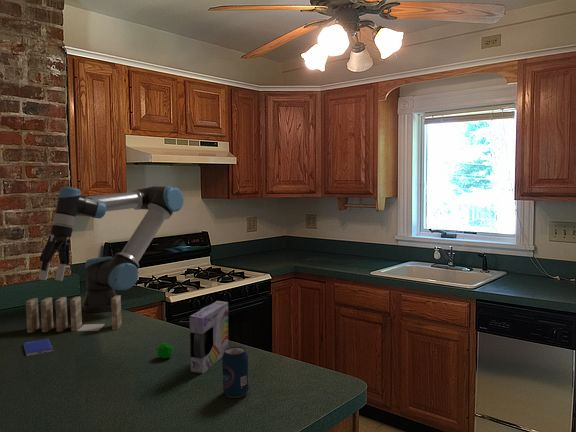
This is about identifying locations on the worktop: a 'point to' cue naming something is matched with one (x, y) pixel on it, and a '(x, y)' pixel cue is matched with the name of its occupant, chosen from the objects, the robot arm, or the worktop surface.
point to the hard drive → (37, 347)
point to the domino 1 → (32, 314)
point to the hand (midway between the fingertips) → (50, 280)
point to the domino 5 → (116, 312)
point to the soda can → (235, 372)
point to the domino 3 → (61, 313)
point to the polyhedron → (164, 350)
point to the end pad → (91, 327)
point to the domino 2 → (47, 314)
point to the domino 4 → (75, 313)
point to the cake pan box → (208, 336)
